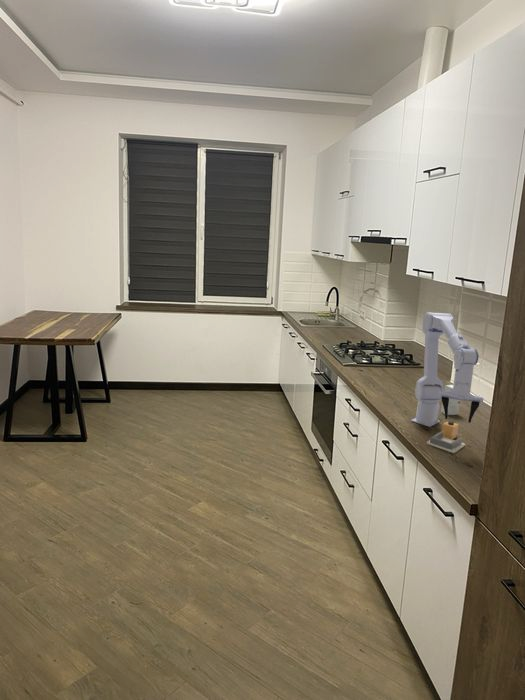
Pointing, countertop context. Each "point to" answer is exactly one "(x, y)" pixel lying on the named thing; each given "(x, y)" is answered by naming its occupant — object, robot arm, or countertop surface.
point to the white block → (451, 402)
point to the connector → (450, 429)
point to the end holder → (445, 443)
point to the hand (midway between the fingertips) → (457, 420)
